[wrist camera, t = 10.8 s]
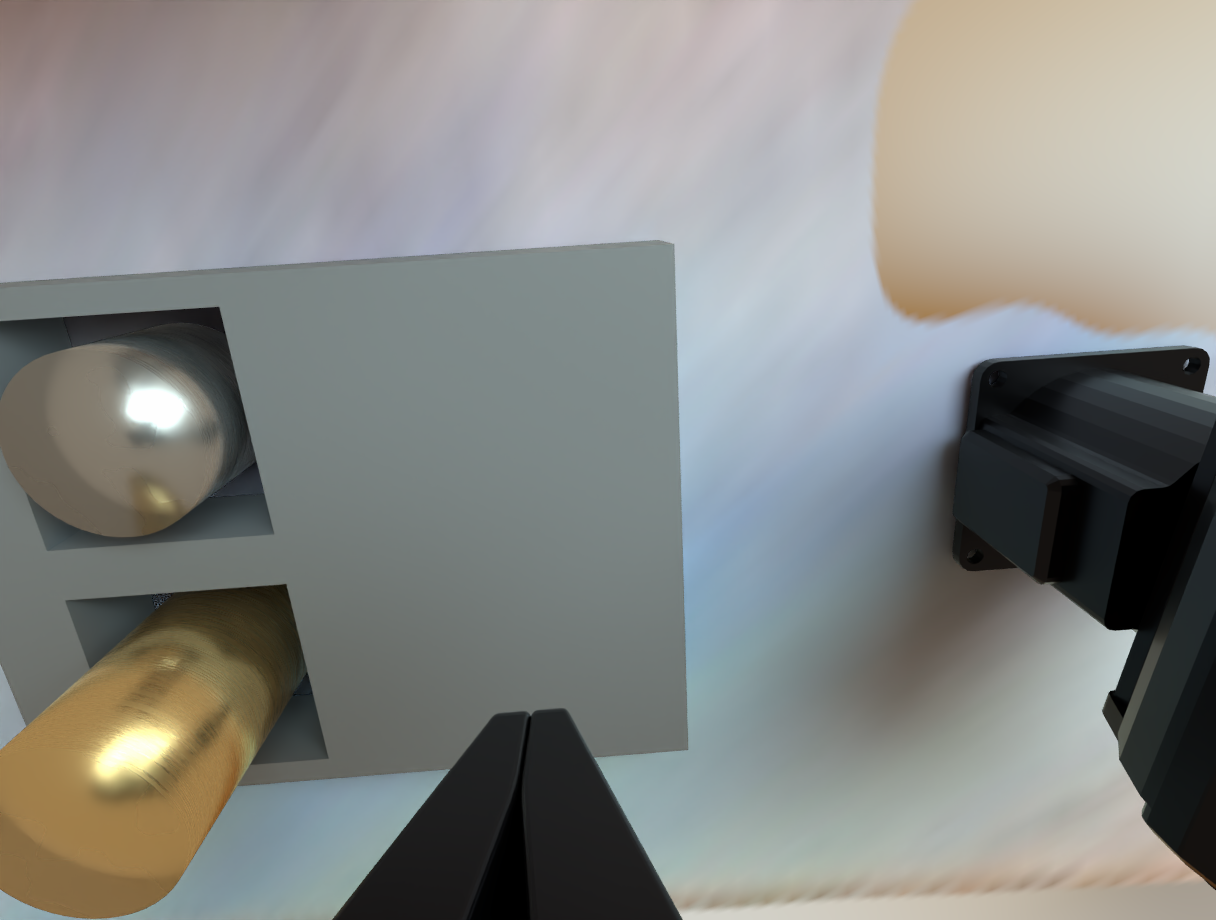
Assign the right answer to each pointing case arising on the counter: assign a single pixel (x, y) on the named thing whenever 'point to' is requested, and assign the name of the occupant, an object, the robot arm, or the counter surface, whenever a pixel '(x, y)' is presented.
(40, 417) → the chrome sphere
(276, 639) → the brass cylinder
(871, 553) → the counter surface
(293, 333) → the jig
